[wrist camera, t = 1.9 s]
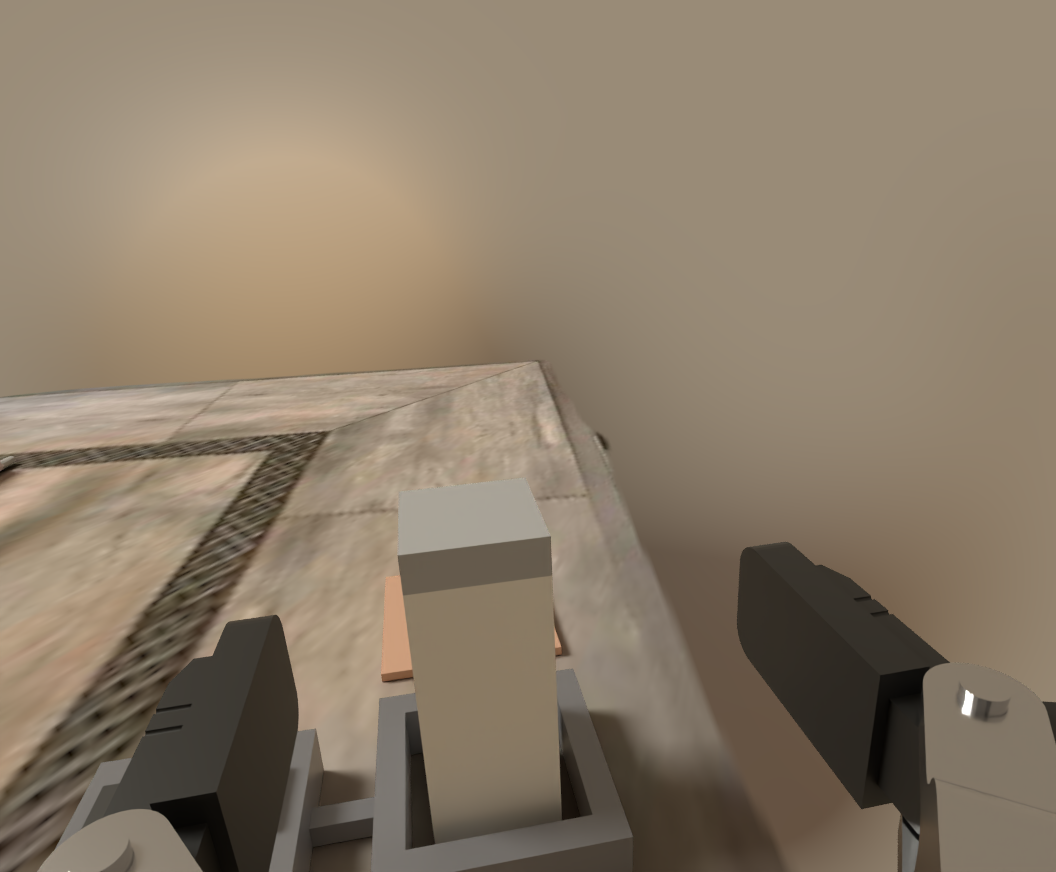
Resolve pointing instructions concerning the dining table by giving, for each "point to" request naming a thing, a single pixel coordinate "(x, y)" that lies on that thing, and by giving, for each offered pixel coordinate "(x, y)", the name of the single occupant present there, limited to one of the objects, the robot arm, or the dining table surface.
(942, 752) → the robot arm
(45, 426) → the dining table surface
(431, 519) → the block
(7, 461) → the mobile phone
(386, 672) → the coaster
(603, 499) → the dining table surface
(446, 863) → the charging dock
